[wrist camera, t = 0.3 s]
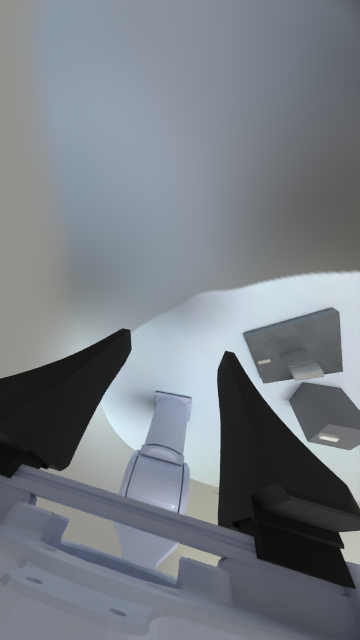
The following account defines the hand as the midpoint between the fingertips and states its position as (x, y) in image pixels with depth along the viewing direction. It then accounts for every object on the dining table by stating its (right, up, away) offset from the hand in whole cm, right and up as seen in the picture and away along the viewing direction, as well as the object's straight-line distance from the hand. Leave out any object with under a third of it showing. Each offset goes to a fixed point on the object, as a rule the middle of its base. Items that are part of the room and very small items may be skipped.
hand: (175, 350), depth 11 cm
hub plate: (+16, -2, +10) cm, 19 cm away
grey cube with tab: (+23, -10, +13) cm, 28 cm away
